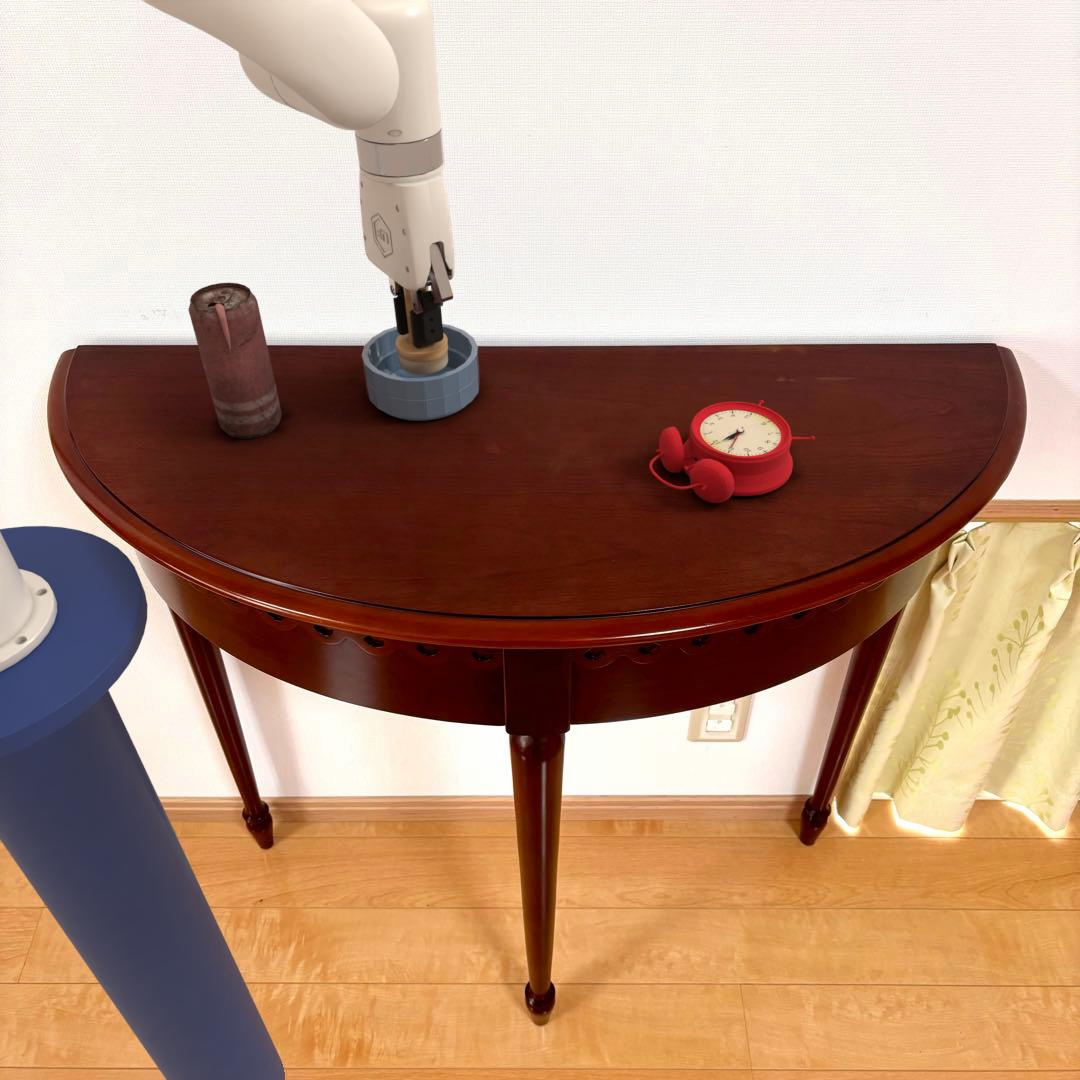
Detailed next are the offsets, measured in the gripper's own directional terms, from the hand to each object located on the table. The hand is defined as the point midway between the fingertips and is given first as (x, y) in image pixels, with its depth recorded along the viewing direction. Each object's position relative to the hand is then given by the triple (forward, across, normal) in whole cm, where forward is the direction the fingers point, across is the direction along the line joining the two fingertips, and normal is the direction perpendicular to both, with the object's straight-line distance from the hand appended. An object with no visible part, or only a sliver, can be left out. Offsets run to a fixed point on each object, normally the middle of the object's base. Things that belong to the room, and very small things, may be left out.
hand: (420, 335), depth 96 cm
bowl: (+7, 0, 0) cm, 7 cm away
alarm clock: (+7, +28, +16) cm, 33 cm away
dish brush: (+3, 0, 0) cm, 3 cm away
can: (+7, -5, -17) cm, 19 cm away
